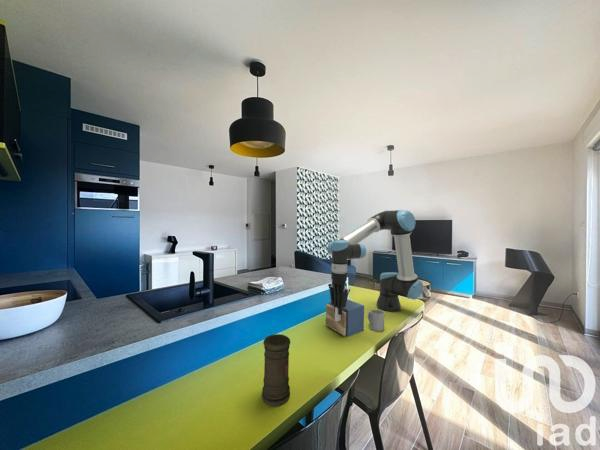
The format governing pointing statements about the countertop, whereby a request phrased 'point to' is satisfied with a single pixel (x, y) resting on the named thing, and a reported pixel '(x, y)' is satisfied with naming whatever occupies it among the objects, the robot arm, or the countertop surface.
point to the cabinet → (353, 317)
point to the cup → (376, 320)
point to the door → (335, 325)
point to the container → (276, 370)
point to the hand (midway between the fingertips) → (337, 320)
